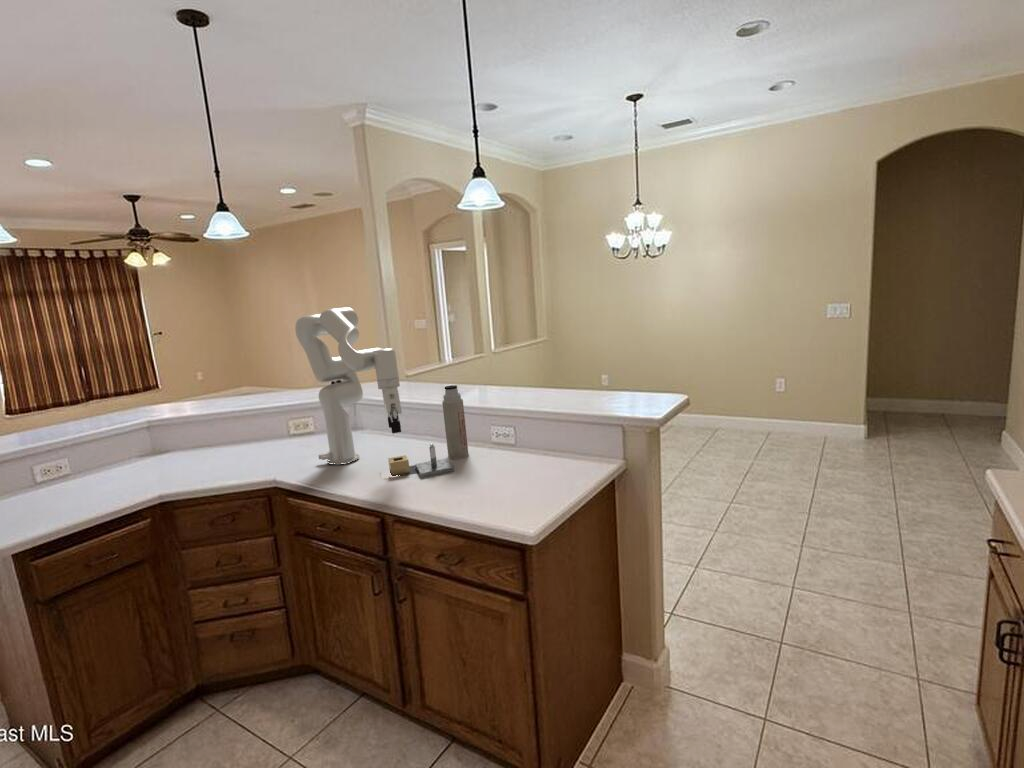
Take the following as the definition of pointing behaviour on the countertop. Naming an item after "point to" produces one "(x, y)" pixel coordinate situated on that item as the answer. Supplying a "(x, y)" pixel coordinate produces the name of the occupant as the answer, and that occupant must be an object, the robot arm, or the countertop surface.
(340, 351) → the robot arm
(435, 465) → the grey peg stand
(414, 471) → the mat
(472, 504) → the countertop surface
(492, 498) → the countertop surface
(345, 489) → the countertop surface
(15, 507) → the countertop surface
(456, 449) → the thermos bottle
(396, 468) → the collar
